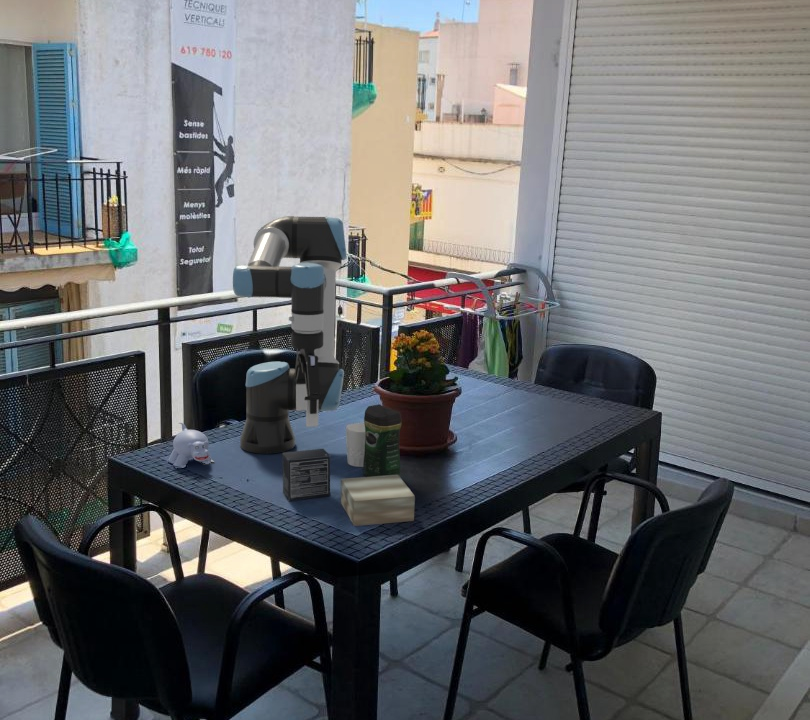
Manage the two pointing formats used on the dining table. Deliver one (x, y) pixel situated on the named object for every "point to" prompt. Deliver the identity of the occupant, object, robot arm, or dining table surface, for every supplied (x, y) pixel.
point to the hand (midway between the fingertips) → (306, 417)
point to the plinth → (377, 500)
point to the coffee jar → (381, 441)
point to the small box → (306, 474)
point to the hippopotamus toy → (190, 447)
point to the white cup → (355, 444)
